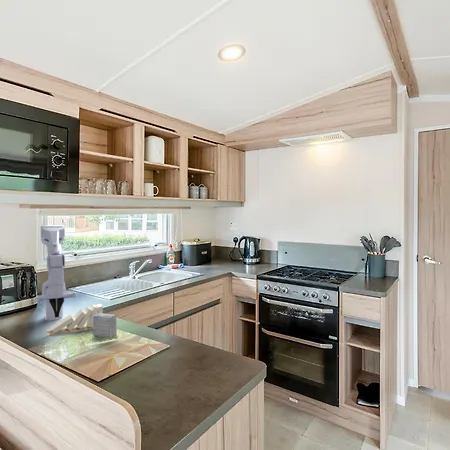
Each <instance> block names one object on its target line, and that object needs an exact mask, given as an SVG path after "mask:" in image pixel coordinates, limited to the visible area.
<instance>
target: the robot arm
mask: <svg viewBox="0 0 450 450" xmlns="http://www.w3.org/2000/svg"><path fill="white" fill-rule="evenodd" d="M65 228H66V227H65V225H64V224H61V225H60V224H58V225H55V224H54V225H53V224H52V225H47V224H46V225H45V224H44V225H43V224H42V225H41V226H40V240H41V243H42V244H43V245H45V247H46V250H47V251H46V253H47V256H46V269H47V278H48V279H47V280H46V281H45V282H44V283H42V285H41V286H42V287H41V295H36V297H35V302H36V303H39V302H45V306H44V307H45V316H43V317H44V320H45V321H57V320H62V319H64V318H65V315H64V305H63V304H64V302H65V299H71V298H73V299H75V298H77V292H76V291H73V292H72V291H71V292H67V288H66V283H65V276H64V275H65V272H64V271H65V270H64V269H65V267H66V257H65V254H64V252H63V246H62V245H61V244H63V243H64V241H65V237H66V233H65V232H66V231H65V230H66V229H65Z"/></svg>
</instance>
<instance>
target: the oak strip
mask: <svg viewBox="0 0 450 450" xmlns="http://www.w3.org/2000/svg"><path fill="white" fill-rule="evenodd" d="M92 329H93V327H88V326H87V324H86V323H85V325H84V326H83V328H82V329H80V328H78V327H77V325H76V326H75V327H74V328H73V329H72V330H71V331H70V330H68V329H67V327H64V328H62V329H61V330H59V331H58V332H56V333H55V334H54V333H53V331H52V329H46V335H47V337H51V336H57V335H62V334H63V335H64V334H70V333H75V332H82V331H87V330H92Z"/></svg>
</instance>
